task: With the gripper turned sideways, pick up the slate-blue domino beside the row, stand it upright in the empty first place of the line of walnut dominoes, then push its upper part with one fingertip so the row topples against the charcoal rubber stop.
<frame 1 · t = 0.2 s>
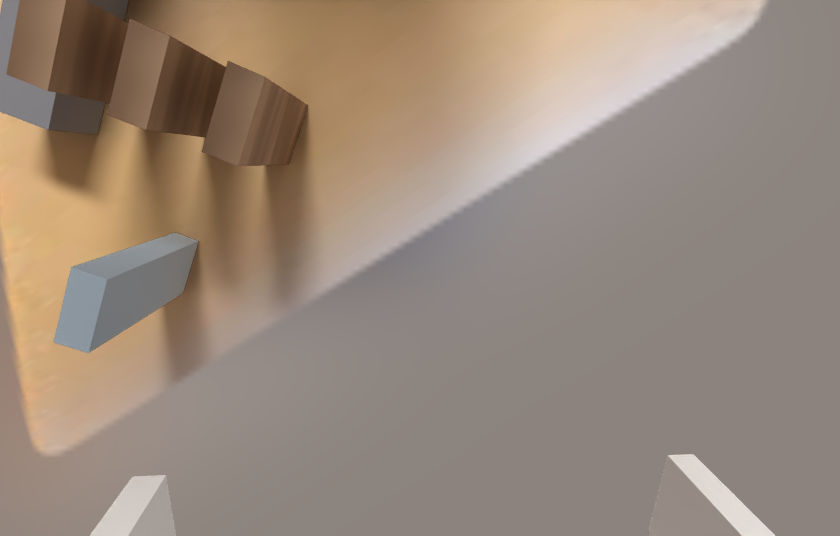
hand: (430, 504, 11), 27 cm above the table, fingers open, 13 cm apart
walnut domino 3: (225, 104, 33), on the table
slate domino: (179, 263, 36), on the table
walnut domino 2: (286, 130, 34), on the table
walnut domino 4: (161, 78, 33), on the table
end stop: (88, 47, 32), on the table
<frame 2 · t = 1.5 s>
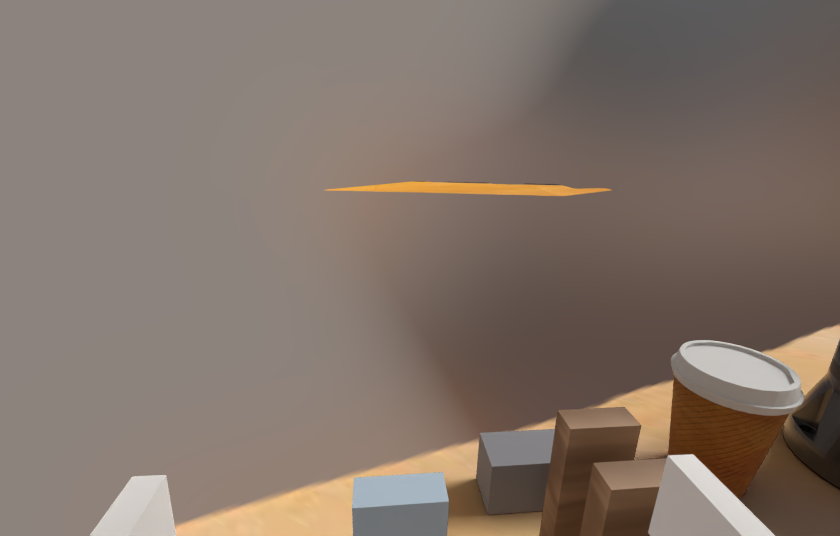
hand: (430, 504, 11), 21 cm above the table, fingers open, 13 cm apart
disposable coffee cup: (704, 475, 40), on the table
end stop: (546, 490, 38), on the table
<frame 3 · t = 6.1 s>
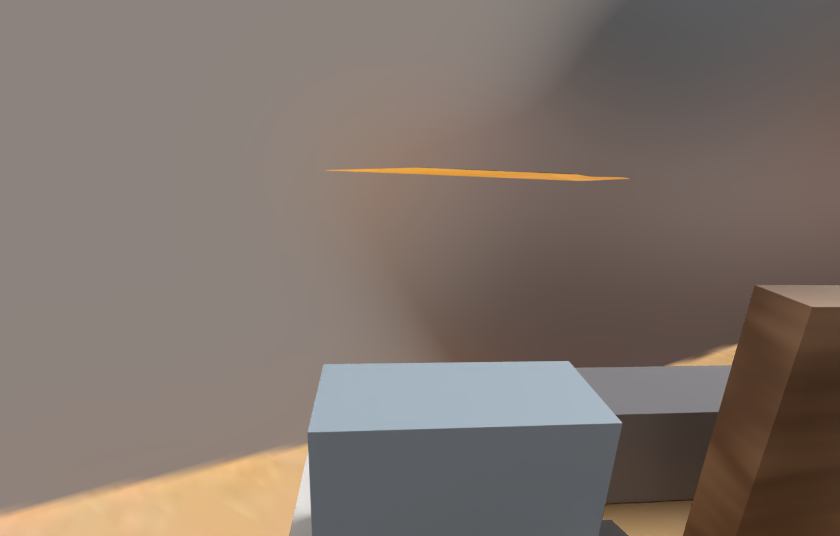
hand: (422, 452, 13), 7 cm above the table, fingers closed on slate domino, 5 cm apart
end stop: (664, 468, 22), on the table
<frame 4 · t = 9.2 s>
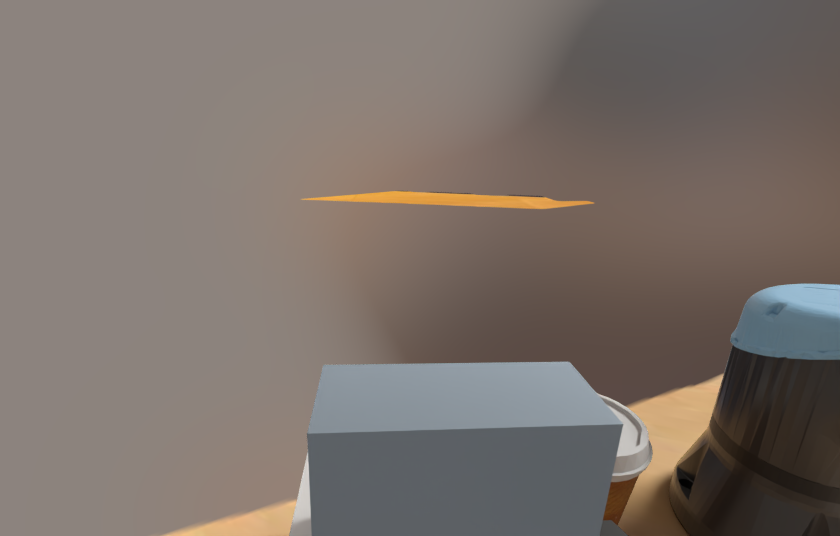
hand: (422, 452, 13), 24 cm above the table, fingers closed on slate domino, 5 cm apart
disposable coffee cup: (568, 534, 38), on the table
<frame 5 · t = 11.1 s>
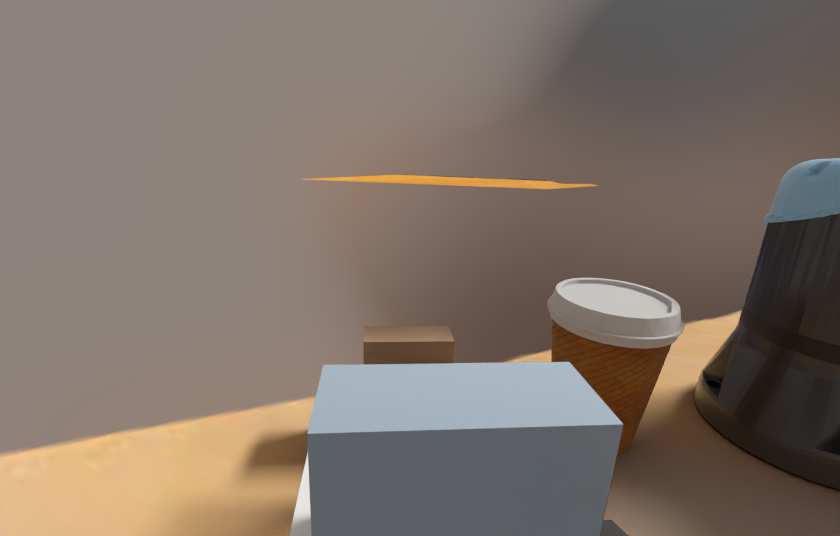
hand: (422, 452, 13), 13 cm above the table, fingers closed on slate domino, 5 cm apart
disposable coffee cup: (589, 431, 35), on the table
walnut domino 4: (402, 500, 27), on the table
when the fingers open (7 cm above the table, at t = 12.6 s): slate domino stays where it is, on the table.
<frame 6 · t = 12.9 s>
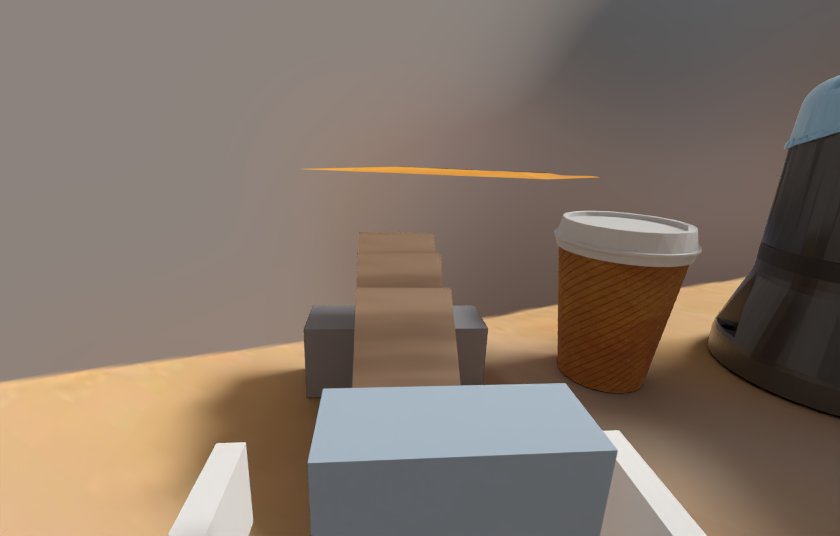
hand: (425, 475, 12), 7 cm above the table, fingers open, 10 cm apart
walnut domino 3: (403, 475, 21), point 1 cm above the table, tilted 42°, touching walnut domino 2, walnut domino 4
disposable coffee cup: (598, 373, 33), on the table
walnut domino 4: (400, 425, 24), point 1 cm above the table, tilted 42°, touching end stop, walnut domino 3
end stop: (394, 379, 31), on the table
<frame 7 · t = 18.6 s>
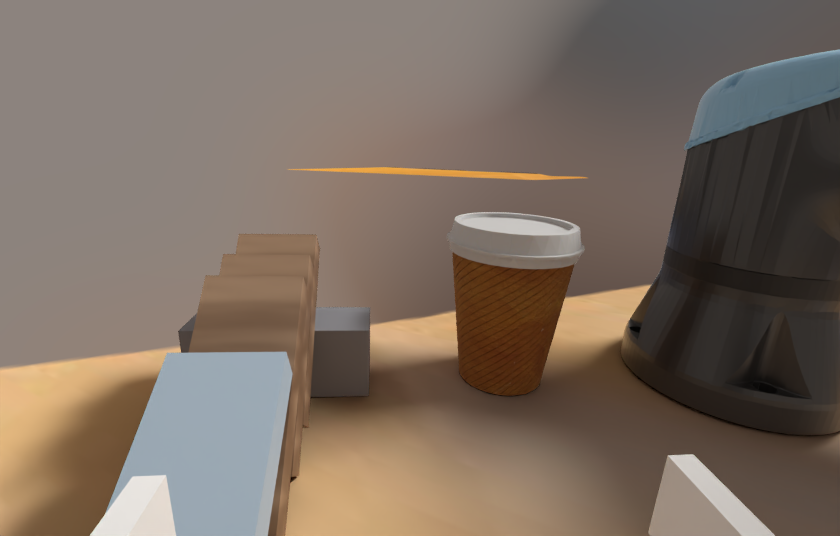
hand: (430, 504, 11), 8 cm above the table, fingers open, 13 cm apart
walnut domino 3: (244, 478, 21), point 1 cm above the table, tilted 42°, touching walnut domino 2, walnut domino 4
disposable coffee cup: (498, 375, 33), on the table
walnut domino 4: (260, 427, 24), point 1 cm above the table, tilted 42°, touching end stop, walnut domino 3
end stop: (286, 381, 30), on the table
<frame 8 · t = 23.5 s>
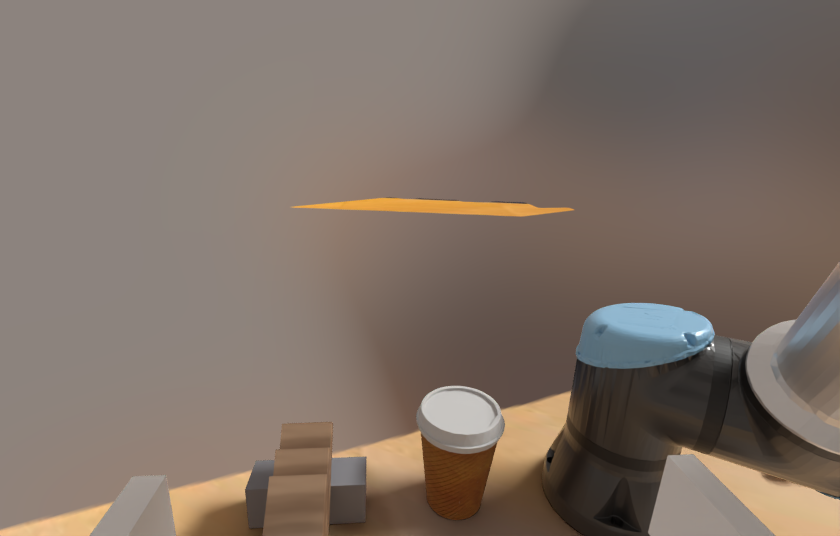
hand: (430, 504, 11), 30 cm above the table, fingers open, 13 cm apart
disposable coffee cup: (453, 498, 49), on the table
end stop: (310, 509, 46), on the table
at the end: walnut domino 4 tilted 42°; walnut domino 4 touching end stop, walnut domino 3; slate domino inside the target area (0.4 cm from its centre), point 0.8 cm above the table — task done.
